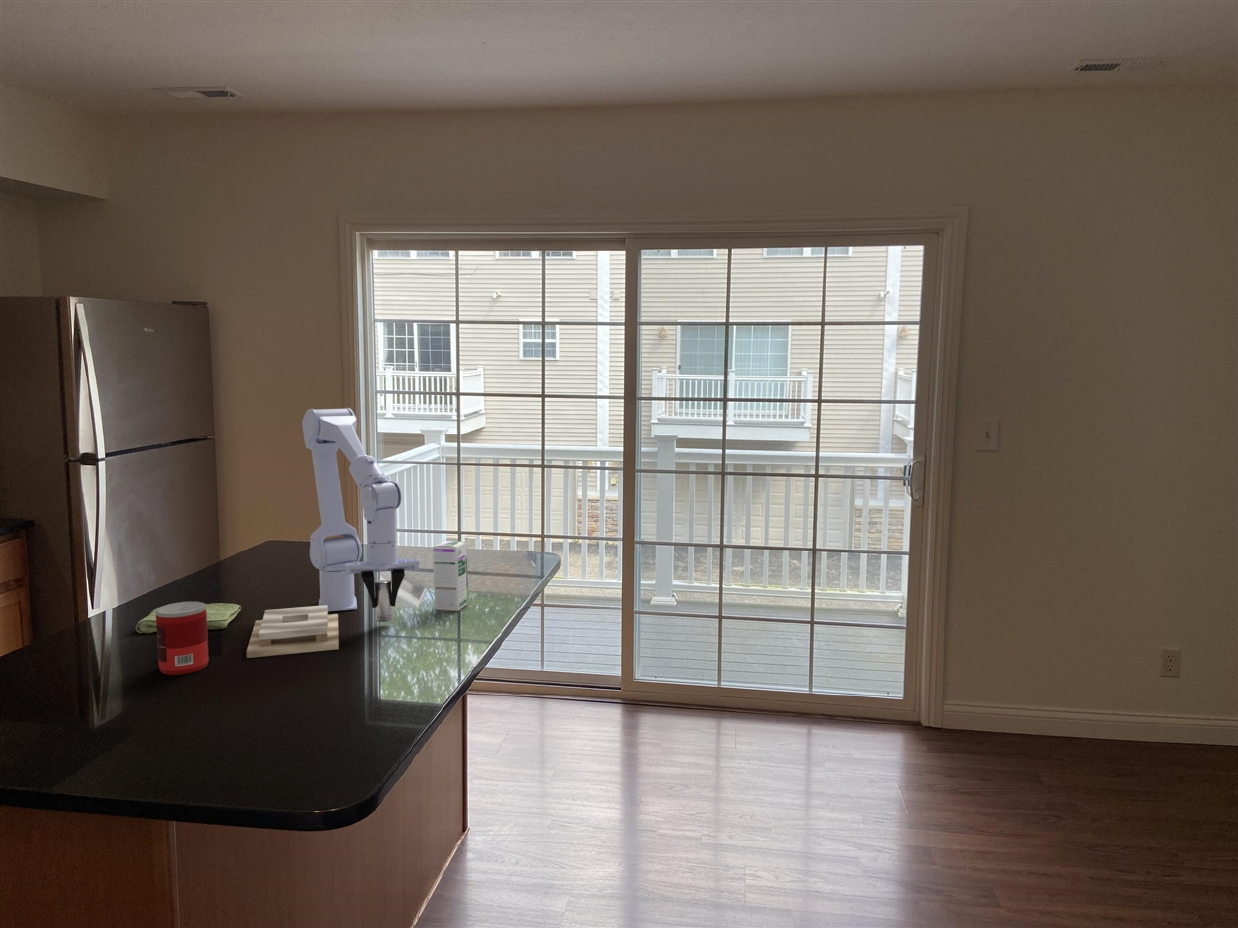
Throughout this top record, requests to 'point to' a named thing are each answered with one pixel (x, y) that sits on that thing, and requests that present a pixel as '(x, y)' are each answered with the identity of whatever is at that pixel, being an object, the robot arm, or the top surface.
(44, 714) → the top surface
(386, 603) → the tube
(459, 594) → the syrup box
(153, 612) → the washcloth
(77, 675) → the top surface
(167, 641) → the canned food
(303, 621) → the collar stand
